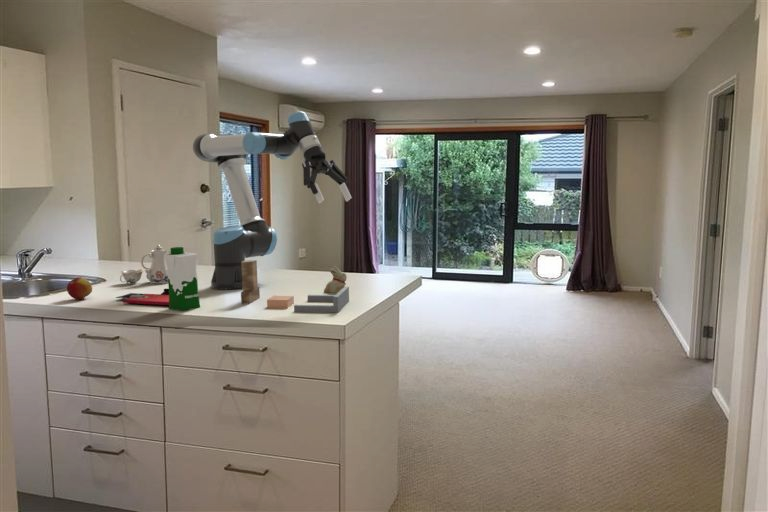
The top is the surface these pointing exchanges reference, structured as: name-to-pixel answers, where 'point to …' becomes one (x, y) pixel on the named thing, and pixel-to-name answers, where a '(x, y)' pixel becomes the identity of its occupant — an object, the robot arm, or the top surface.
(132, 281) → the chinaware
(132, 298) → the red board with handle
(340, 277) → the tan bunny-shaped figure
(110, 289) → the top surface
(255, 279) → the stepped wooden beam
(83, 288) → the apple
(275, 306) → the salmon square block
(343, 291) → the frame
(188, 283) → the milk carton
